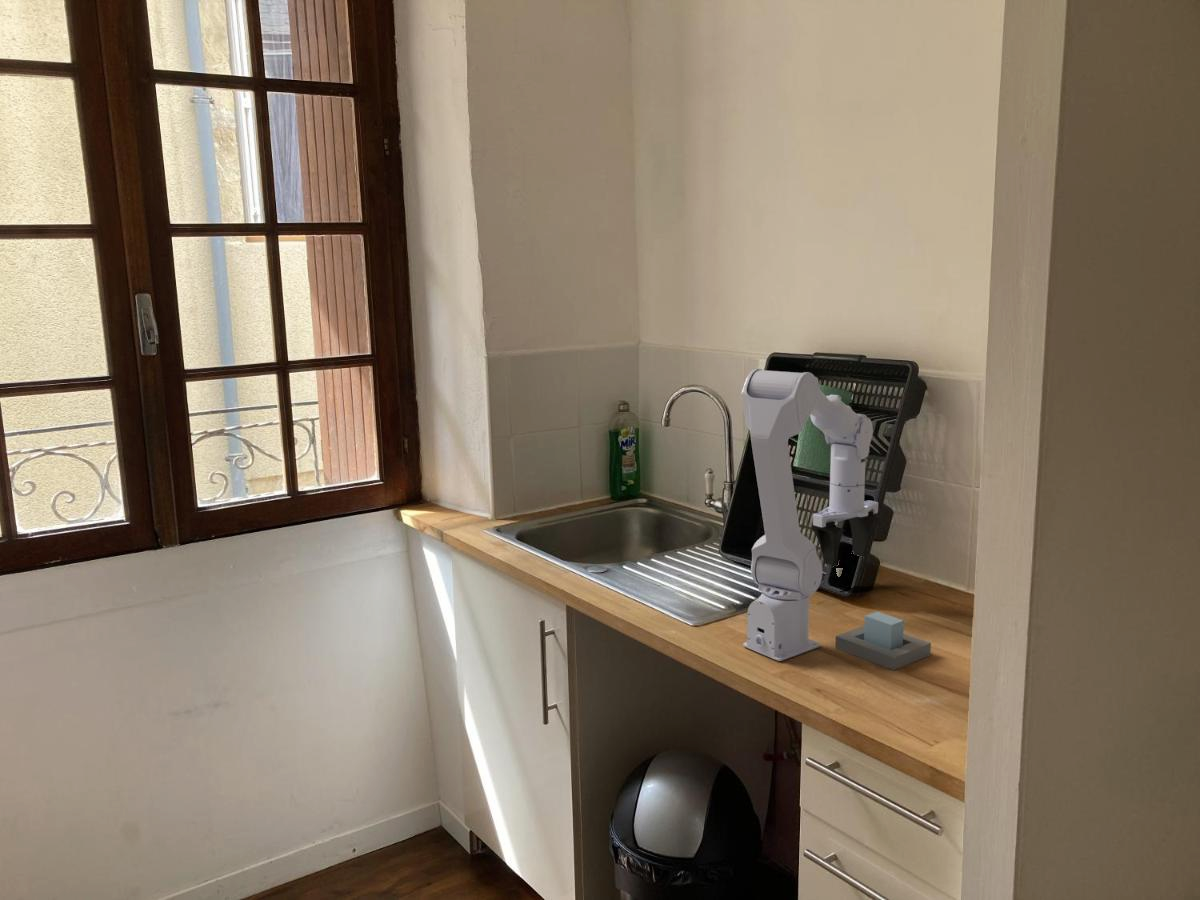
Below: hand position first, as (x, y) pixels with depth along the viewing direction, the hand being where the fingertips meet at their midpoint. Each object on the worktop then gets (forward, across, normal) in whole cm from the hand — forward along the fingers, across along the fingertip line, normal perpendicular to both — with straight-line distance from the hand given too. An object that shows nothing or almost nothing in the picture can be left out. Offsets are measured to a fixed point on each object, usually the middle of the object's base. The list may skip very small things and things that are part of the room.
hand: (844, 559), depth 171 cm
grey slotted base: (+9, -10, -16) cm, 21 cm away
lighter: (+9, +10, +7) cm, 15 cm away
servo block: (+8, -10, -16) cm, 21 cm away
